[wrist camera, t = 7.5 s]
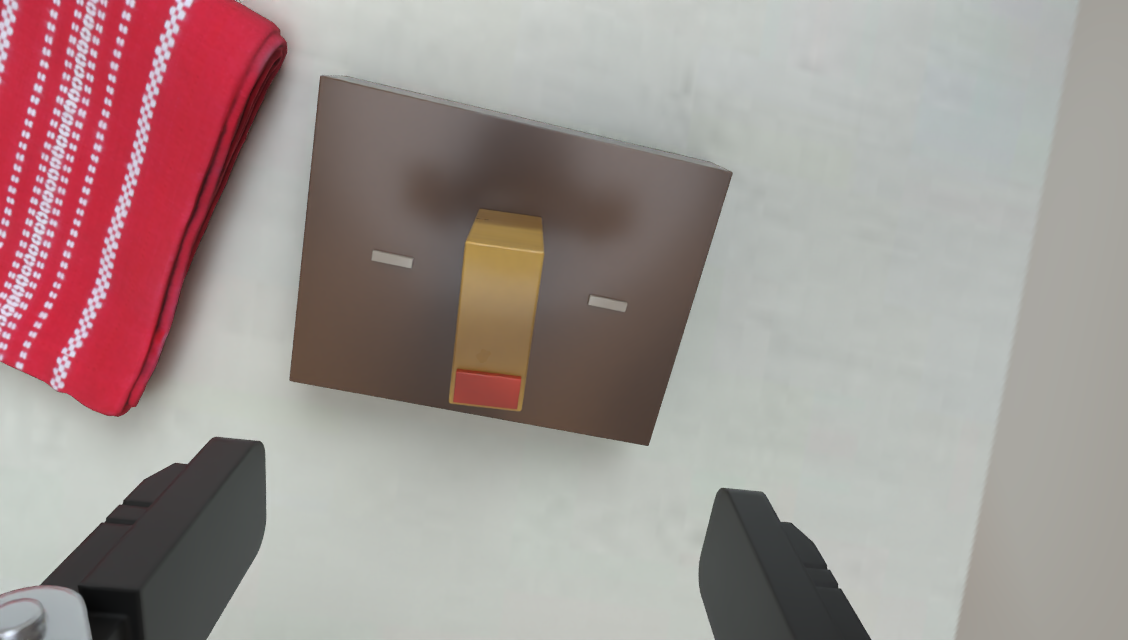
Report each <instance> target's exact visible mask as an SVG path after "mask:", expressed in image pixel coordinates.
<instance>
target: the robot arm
mask: <svg viewBox="0 0 1128 640" xmlns="http://www.w3.org/2000/svg"><path fill="white" fill-rule="evenodd" d="M265 525H266V470H265V448H264V445H263V443H262V442H261V441H253V440H243V439H233V438H223V437H214V438H212V439H211V440H210V441H209V442H208V443H207V444H206V445H205V446H204V447H203V448H202V449H201V450H200V451H199V452H198V454H197V455H196V456H195V457H194V458H193V459H192V460H191V461H190V462H189V463H188V464H180V463H174V464H172V465H170V466H168V467H166V468H165V469H163V470H161V471H159V472H157V473H155V474H153V475H152V476H150V477H148V478H146V479H144V480H143V481H142V482H141V483H140V484H139V485H138V486H137V487H136V488H135V489H134V490H133V491H132V492H131V493H130V494H129V495H128V496H127V497H126V498H125V499H124V500H123V504H122V505H119V506H118V507H117V508H116V509H115V510H114V511H113V512H112V513H111V514H110V515H109V516H108V517H107V518H106V521H105V523H101V524H100V525H99V526H98V527H97V528H96V529H95V530H94V531H93V532H92V533H91V534H90V535H89V536H88V537H87V538H86V539H85V540H84V541H83V542H82V543H81V544H80V545H79V546H78V547H77V548H76V549H75V550H74V551H73V552H72V553H71V554H70V555H69V556H68V557H67V558H66V559H65V560H64V561H63V562H62V563H61V564H60V565H59V566H58V567H57V568H56V569H55V570H54V571H53V572H52V573H51V574H50V575H49V576H48V577H47V578H46V579H45V580H44V581H43V583H42V584H41V585H40V586H32V587H26V588H21V589H17V590H13V591H10V592H7V593H4V594H1V595H0V640H206V639H207V638H208V636H209V634H210V633H211V631H212V629H213V627H214V626H215V624H216V622H217V621H218V619H219V617H220V616H221V614H222V612H223V611H224V609H225V607H226V606H227V604H228V602H229V601H230V599H231V597H232V595H233V594H234V592H235V590H236V589H237V587H238V585H239V584H240V582H241V580H242V579H243V577H244V575H245V574H246V572H247V570H248V569H249V567H250V565H251V564H252V562H253V560H254V558H255V557H256V555H257V553H258V551H259V548H260V546H261V543H262V540H263V536H264V531H265ZM699 587H700V593H701V597H702V600H703V603H704V606H705V609H706V612H707V616H708V619H709V622H710V625H711V628H712V632H713V635H714V638H715V640H871V638H870V637H869V635H868V633H867V632H866V630H865V628H864V627H863V625H862V623H861V622H860V620H859V618H858V617H857V615H856V613H855V612H854V610H853V608H852V606H851V605H850V603H849V601H848V600H847V598H846V596H845V595H844V593H843V591H842V590H841V589H838V583H837V581H836V579H835V578H834V576H833V574H832V573H831V571H830V570H827V564H826V563H825V561H824V559H823V558H822V556H821V554H820V552H819V551H818V549H817V547H816V546H815V544H814V543H813V542H812V541H811V540H810V539H809V538H808V537H807V536H805V535H804V534H803V533H802V532H801V531H800V530H799V529H798V528H797V527H795V526H794V525H793V524H792V523H788V522H780V520H779V518H778V516H777V515H776V513H775V511H774V509H773V507H772V505H771V504H770V502H769V500H768V498H767V496H766V495H765V494H764V493H763V492H759V491H749V490H739V489H729V488H721V489H719V491H718V492H717V494H716V497H715V500H714V504H713V508H712V512H711V516H710V520H709V524H708V528H707V532H706V536H705V540H704V544H703V548H702V552H701V556H700V561H699Z"/></svg>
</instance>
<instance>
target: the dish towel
mask: <svg viewBox="0 0 1128 640" xmlns="http://www.w3.org/2000/svg"><path fill="white" fill-rule="evenodd" d="M286 54H287V42H286V41H285V39H284V38H283V37H282V36H281V35H280V29H279V28H278V27H277V26H276V25H275V24H274V23H273V22H271V21H269V20H268V19H266V18H264V17H262V16H261V15H259V14H257V13H256V12H254V11H252V10H251V9H249V8H247V7H246V6H244V5H242V4H240V3H238V2H236V1H235V0H0V362H3V363H5V364H7V365H9V366H11V367H13V368H15V369H18V370H20V371H22V372H24V373H27V374H29V375H31V376H33V377H35V378H38V379H40V380H42V381H44V382H45V383H47V384H48V385H50V386H51V387H52V388H53V389H54V390H56V391H58V392H62V393H67V394H69V395H71V396H72V397H74V398H75V399H76V400H78V401H79V402H80V403H81V404H83V405H84V406H86V407H88V408H90V409H92V410H93V411H96V412H99V413H101V414H104V415H107V416H117V417H119V416H122V415H124V414H125V413H127V412H128V411H129V410H130V408H131V407H136V406H137V404H138V402H139V400H140V398H141V396H142V394H143V392H144V390H145V387H146V384H147V382H148V380H149V379H150V377H151V375H152V373H153V371H154V370H155V368H156V365H157V363H158V360H159V357H160V354H161V352H162V349H163V346H164V343H165V340H166V338H167V336H168V334H169V331H170V328H171V325H172V322H173V318H174V315H175V311H176V308H177V304H178V300H179V295H180V292H181V288H182V284H183V281H184V279H185V277H186V274H187V272H188V270H189V267H190V265H191V262H192V260H193V257H194V255H195V252H196V250H197V247H198V245H199V243H200V241H201V239H202V236H203V234H204V232H205V230H206V228H207V225H208V223H209V220H210V218H211V215H212V213H213V211H214V208H215V206H216V204H217V202H218V200H219V198H220V196H221V194H222V192H223V190H224V188H225V186H226V183H227V181H228V178H229V175H230V173H231V171H232V168H233V166H234V163H235V161H236V158H237V156H238V154H239V152H240V149H241V147H242V145H243V143H244V142H245V140H246V137H247V133H248V131H249V129H250V127H251V125H252V123H253V120H254V118H255V116H256V113H257V111H258V109H259V107H260V105H261V103H262V101H263V99H264V97H265V94H266V92H267V89H268V88H269V86H270V84H271V82H272V80H273V79H274V77H275V76H276V74H277V73H278V71H279V69H280V67H281V65H282V63H283V61H284V59H285V56H286Z"/></svg>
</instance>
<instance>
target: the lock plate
mask: <svg viewBox="0 0 1128 640" xmlns="http://www.w3.org/2000/svg"><path fill="white" fill-rule="evenodd" d="M731 177H732V172H731V171H729V170H727V169H724V168H722V167H720V166H718V165H716V164H713V163H711V162H708V161H704V160H699V159H695V158H691V157H687V156H682V155H678V154H674V153H670V152H665V151H661V150H657V149H653V148H649V147H644V146H640V145H636V144H632V143H627V142H623V141H619V140H615V139H610V138H606V137H602V136H598V135H594V134H589V133H585V132H581V131H577V130H572V129H568V128H564V127H560V126H555V125H551V124H547V123H543V122H538V121H534V120H530V119H526V118H522V117H517V116H513V115H509V114H505V113H500V112H496V111H492V110H488V109H483V108H479V107H475V106H471V105H467V104H462V103H458V102H454V101H450V100H445V99H441V98H437V97H433V96H428V95H424V94H420V93H416V92H412V91H407V90H403V89H399V88H395V87H390V86H386V85H382V84H378V83H373V82H369V81H365V80H361V79H357V78H352V77H348V76H326V75H322V76H320V84H319V94H318V104H317V113H316V123H315V133H314V143H313V153H312V163H311V173H310V182H309V192H308V202H307V212H306V222H305V232H304V242H303V251H302V261H301V271H300V281H299V291H298V301H297V311H296V320H295V330H294V340H293V350H292V360H291V370H290V381H293V382H298V383H304V384H309V385H315V386H320V387H326V388H331V389H337V390H342V391H348V392H353V393H359V394H364V395H370V396H375V397H381V398H386V399H392V400H397V401H403V402H408V403H414V404H419V405H425V406H430V407H436V408H441V409H447V410H452V411H458V412H463V413H469V414H474V415H480V416H486V417H491V418H497V419H502V420H508V421H513V422H519V423H524V424H530V425H535V426H541V427H546V428H552V429H557V430H563V431H568V432H574V433H579V434H585V435H590V436H596V437H601V438H607V439H612V440H618V441H623V442H629V443H634V444H640V445H645V446H648V445H649V443H650V439H651V436H652V433H653V430H654V427H655V423H656V420H657V417H658V414H659V410H660V407H661V404H662V401H663V397H664V394H665V391H666V388H667V384H668V381H669V378H670V375H671V371H672V368H673V365H674V362H675V358H676V355H677V352H678V349H679V345H680V342H681V339H682V336H683V333H684V329H685V326H686V323H687V320H688V316H689V313H690V310H691V307H692V303H693V300H694V297H695V294H696V290H697V287H698V284H699V281H700V277H701V274H702V271H703V268H704V264H705V261H706V258H707V255H708V251H709V248H710V245H711V242H712V239H713V235H714V232H715V229H716V226H717V222H718V219H719V216H720V213H721V209H722V206H723V203H724V200H725V196H726V193H727V190H728V187H729V183H730V180H731ZM479 209H486V210H493V211H500V212H507V213H514V214H521V215H528V216H535V217H541V218H542V226H543V241H544V260H543V267H542V274H541V281H540V288H539V294H538V301H537V308H536V315H535V322H534V329H533V336H532V343H531V349H530V356H529V363H528V370H527V377H526V384H525V391H524V398H523V404H522V410H521V411H511V410H502V409H494V408H485V407H476V406H467V405H459V404H451V403H449V392H450V382H451V372H452V363H453V353H454V344H455V334H456V324H457V315H458V305H459V295H460V286H461V276H462V266H463V257H464V247H465V242H466V239H467V237H468V235H469V232H470V230H471V227H472V225H473V223H474V220H475V218H476V216H477V213H478V211H479Z"/></svg>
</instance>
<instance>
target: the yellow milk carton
mask: <svg viewBox="0 0 1128 640" xmlns="http://www.w3.org/2000/svg"><path fill="white" fill-rule="evenodd" d="M543 260H544V241H543V226H542V218H541V217H535V216H528V215H521V214H514V213H507V212H500V211H493V210H486V209H479V211H478V213H477V216H476V218H475V220H474V223H473V225H472V227H471V230H470V232H469V235H468V237H467V239H466V242H465V247H464V257H463V266H462V276H461V286H460V295H459V305H458V315H457V324H456V334H455V344H454V353H453V363H452V372H451V382H450V392H449V403H451V404H459V405H467V406H476V407H485V408H494V409H502V410H511V411H521V410H522V404H523V398H524V391H525V384H526V377H527V370H528V363H529V356H530V349H531V343H532V336H533V329H534V322H535V315H536V308H537V301H538V294H539V288H540V281H541V274H542V267H543Z"/></svg>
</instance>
